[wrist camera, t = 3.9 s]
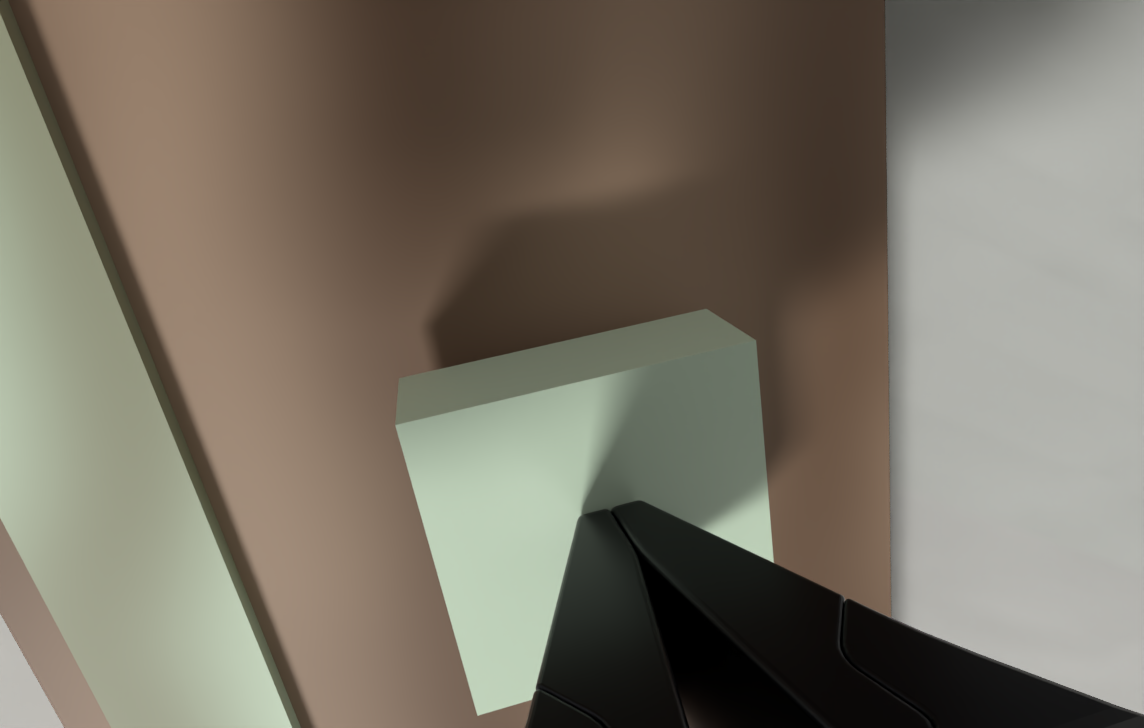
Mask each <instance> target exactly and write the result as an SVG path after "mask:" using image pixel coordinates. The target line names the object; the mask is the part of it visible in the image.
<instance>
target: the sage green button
mask: <svg viewBox="0 0 1144 728" xmlns="http://www.w3.org/2000/svg"><path fill="white" fill-rule="evenodd" d="M395 426H396V430H397V433H398V437H399V440H400V444H401V447H402V451H403V454H404V458H405V462H406V465H407V469H408V472H409V476H410V479H411V483H412V486H413V490H414V493H415V497H416V500H417V504H418V507H419V511H420V514H421V518H422V522H423V525H424V529H425V532H426V536H427V539H428V543H429V546H430V550H431V553H432V557H433V560H434V564H435V567H436V571H437V575H438V578H439V582H440V585H441V589H442V592H443V596H444V599H445V603H446V606H447V610H448V613H449V617H450V620H451V624H452V627H453V631H454V635H455V638H456V642H457V645H458V649H459V652H460V656H461V659H462V663H463V666H464V670H465V673H466V677H467V680H468V684H469V687H470V691H471V695H472V698H473V702H474V705H475V709H476V712H477V716H479V715H482V714H485V713H489V712H492V711H495V710H499V709H502V708H506V707H509V706H512V705H516V704H519V703H523V702H526V701H529V700H532V698H533V694H534V692H535V691H536V683H537V679H538V675H539V671H540V667H541V663H542V659H543V655H544V651H545V647H546V643H547V639H548V635H549V631H550V627H551V623H552V619H553V615H554V611H555V607H556V603H557V599H558V595H559V591H560V587H561V583H562V579H563V575H564V571H565V567H566V563H567V559H568V555H569V552H570V548H571V544H572V540H573V536H574V532H575V528H576V524H577V520H578V518H579V517H580V516H581V515H583V514H587V513H591V512H595V511H599V510H602V509H608V510H609V511H610V512H611V510H612V508H613V507H615V506H618V505H621V504H625V503H629V502H633V501H637V500H641V501H644V502H646V503H649V504H651V505H653V506H655V507H657V508H659V509H661V510H663V511H665V512H668V513H670V514H672V515H674V516H676V517H678V518H680V519H682V520H684V521H687V522H689V523H691V524H693V525H695V526H697V527H699V528H701V529H703V530H706V531H708V532H710V533H712V534H714V535H716V536H718V537H720V538H722V539H725V540H727V541H729V542H731V543H733V544H735V545H737V546H739V547H741V548H744V549H746V550H748V551H750V552H752V553H754V554H756V555H758V556H760V557H763V558H765V559H767V560H769V561H771V562H773V563H774V559H773V546H772V534H771V521H770V509H769V496H768V484H767V471H766V459H765V446H764V434H763V421H762V409H761V396H760V384H759V371H758V359H757V346H756V340H755V339H753V338H752V337H750V336H749V335H747V334H746V333H744V332H742V331H741V330H739V329H738V328H736V327H734V326H733V325H731V324H730V323H728V322H727V321H725V320H723V319H722V318H720V317H719V316H717V315H716V314H714V313H712V312H711V311H709V310H708V309H703V310H698V311H694V312H689V313H685V314H681V315H676V316H672V317H667V318H663V319H658V320H654V321H650V322H645V323H641V324H636V325H632V326H628V327H623V328H619V329H614V330H610V331H606V332H601V333H597V334H592V335H588V336H583V337H579V338H575V339H570V340H566V341H561V342H557V343H553V344H548V345H544V346H539V347H535V348H531V349H526V350H522V351H517V352H513V353H509V354H504V355H500V356H495V357H491V358H486V359H482V360H478V361H473V362H469V363H464V364H460V365H456V366H451V367H447V368H442V369H438V370H434V371H429V372H425V373H420V374H416V375H412V376H407V377H403V378H399V384H398V397H397V409H396V421H395Z"/></svg>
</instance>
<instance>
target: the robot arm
mask: <svg viewBox="0 0 1144 728" xmlns="http://www.w3.org/2000/svg"><path fill="white" fill-rule="evenodd" d="M525 728H1144V715H1143V714H1140V713H1137V712H1134V711H1131V710H1128V709H1125V708H1122V707H1119V706H1116V705H1114V704H1111V703H1108V702H1106V701H1103V700H1100V699H1098V698H1095V697H1092V696H1090V695H1087V694H1084V693H1082V692H1079V691H1076V690H1074V689H1071V688H1068V687H1066V686H1063V685H1060V684H1058V683H1055V682H1052V681H1050V680H1047V679H1044V678H1042V677H1039V676H1036V675H1034V674H1031V673H1028V672H1026V671H1023V670H1020V669H1018V668H1015V667H1012V666H1010V665H1007V664H1004V663H1002V662H999V661H996V660H994V659H991V658H988V657H986V656H983V655H980V654H978V653H975V652H973V651H970V650H968V649H965V648H962V647H960V646H957V645H955V644H952V643H950V642H947V641H945V640H942V639H940V638H937V637H935V636H932V635H930V634H927V633H925V632H922V631H920V630H918V629H915V628H913V627H911V626H909V625H906V624H904V623H902V622H900V621H897V620H895V619H893V618H891V617H888V616H886V615H884V614H882V613H879V612H877V611H875V610H873V609H871V608H869V607H867V606H865V605H862V604H860V603H858V602H856V601H854V600H852V599H846V600H845V598H844V596H843V595H841V594H839V593H837V592H834V591H832V590H830V589H828V588H826V587H824V586H822V585H820V584H818V583H815V582H813V581H811V580H809V579H807V578H805V577H803V576H801V575H799V574H796V573H794V572H792V571H790V570H788V569H786V568H784V567H782V566H780V565H777V564H775V563H773V562H771V561H769V560H767V559H765V558H763V557H760V556H758V555H756V554H754V553H752V552H750V551H748V550H746V549H744V548H741V547H739V546H737V545H735V544H733V543H731V542H729V541H727V540H725V539H722V538H720V537H718V536H716V535H714V534H712V533H710V532H708V531H706V530H703V529H701V528H699V527H697V526H695V525H693V524H691V523H689V522H687V521H684V520H682V519H680V518H678V517H676V516H674V515H672V514H670V513H668V512H665V511H663V510H661V509H659V508H657V507H655V506H653V505H651V504H649V503H646V502H644V501H641V500H637V501H633V502H629V503H625V504H621V505H618V506H615V507H613V508H612V510H611V512H610V511H609V510H608V509H602V510H599V511H595V512H591V513H587V514H583V515H581V516H580V517H579V518H578V520H577V524H576V528H575V532H574V536H573V540H572V544H571V548H570V552H569V555H568V559H567V563H566V567H565V571H564V575H563V579H562V583H561V587H560V591H559V595H558V599H557V603H556V607H555V611H554V615H553V619H552V623H551V627H550V631H549V635H548V639H547V643H546V647H545V651H544V655H543V659H542V663H541V667H540V671H539V675H538V679H537V683H536V691H535V692H534V694H533V698H532V702H531V706H530V710H529V714H528V718H527V721H526V725H525Z"/></svg>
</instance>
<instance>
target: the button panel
mask: <svg viewBox="0 0 1144 728" xmlns="http://www.w3.org/2000/svg"><path fill="white" fill-rule="evenodd" d="M703 309H708V310H709V311H711V312H712V313H714V314H716V315H717V316H719V317H720V318H722V319H723V320H725V321H727V322H728V323H730V324H731V325H733V326H734V327H736V328H738V329H739V330H741V331H742V332H744V333H746V334H747V335H749V336H750V337H752V338H753V339H755V340H756V346H757V359H758V371H759V384H760V396H761V409H762V421H763V434H764V446H765V459H766V471H767V484H768V496H769V509H770V521H771V534H772V546H773V559H774V563H775V564H777V565H780V566H782V567H784V568H786V569H788V570H790V571H792V572H794V573H796V574H799V575H801V576H803V577H805V578H807V579H809V580H811V581H813V582H815V583H818V584H820V585H822V586H824V587H826V588H828V589H830V590H832V591H834V592H837V593H839V594H841V595H843V596H844V598H845V600H846V599H852V600H854V601H856V602H858V603H860V604H862V605H865V606H867V607H869V608H871V609H873V610H875V611H877V612H879V613H882V614H884V615H886V616H888V617H891V563H890V465H889V366H888V267H887V169H886V70H885V0H0V614H1V616H2V617H3V619H4V621H5V623H6V624H7V626H8V628H9V630H10V632H11V633H12V635H13V637H14V639H15V641H16V642H17V644H18V646H19V648H20V649H21V651H22V653H23V655H24V657H25V658H26V660H27V662H28V664H29V666H30V667H31V669H32V671H33V673H34V674H35V676H36V678H37V680H38V682H39V683H40V685H41V687H42V689H43V691H44V692H45V694H46V696H47V698H48V699H49V701H50V703H51V705H52V707H53V708H54V710H55V712H56V714H57V716H58V717H59V719H60V721H61V723H62V724H63V726H64V728H525V725H526V721H527V718H528V714H529V710H530V706H531V702H532V700H529V701H526V702H523V703H519V704H516V705H512V706H509V707H506V708H502V709H499V710H495V711H492V712H489V713H485V714H482V715H479V716H477V712H476V709H475V705H474V702H473V698H472V695H471V691H470V687H469V684H468V680H467V677H466V673H465V670H464V666H463V663H462V659H461V656H460V652H459V649H458V645H457V642H456V638H455V635H454V631H453V627H452V624H451V620H450V617H449V613H448V610H447V606H446V603H445V599H444V596H443V592H442V589H441V585H440V582H439V578H438V575H437V571H436V567H435V564H434V560H433V557H432V553H431V550H430V546H429V543H428V539H427V536H426V532H425V529H424V525H423V522H422V518H421V514H420V511H419V507H418V504H417V500H416V497H415V493H414V490H413V486H412V483H411V479H410V476H409V472H408V469H407V465H406V462H405V458H404V454H403V451H402V447H401V444H400V440H399V437H398V433H397V430H396V426H395V421H396V409H397V397H398V384H399V378H403V377H407V376H412V375H416V374H420V373H425V372H429V371H434V370H438V369H442V368H447V367H451V366H456V365H460V364H464V363H469V362H473V361H478V360H482V359H486V358H491V357H495V356H500V355H504V354H509V353H513V352H517V351H522V350H526V349H531V348H535V347H539V346H544V345H548V344H553V343H557V342H561V341H566V340H570V339H575V338H579V337H583V336H588V335H592V334H597V333H601V332H606V331H610V330H614V329H619V328H623V327H628V326H632V325H636V324H641V323H645V322H650V321H654V320H658V319H663V318H667V317H672V316H676V315H681V314H685V313H689V312H694V311H698V310H703Z"/></svg>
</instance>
